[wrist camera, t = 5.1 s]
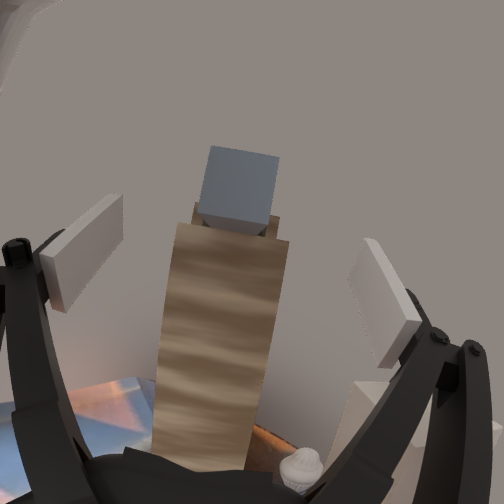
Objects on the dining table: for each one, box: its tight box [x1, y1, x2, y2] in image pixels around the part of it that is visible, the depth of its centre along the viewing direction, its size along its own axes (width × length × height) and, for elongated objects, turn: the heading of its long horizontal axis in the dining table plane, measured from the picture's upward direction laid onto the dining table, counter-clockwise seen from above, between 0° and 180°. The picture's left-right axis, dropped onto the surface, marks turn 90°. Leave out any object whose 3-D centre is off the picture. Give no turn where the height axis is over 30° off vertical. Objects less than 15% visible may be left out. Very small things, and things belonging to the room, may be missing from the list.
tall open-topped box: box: [151, 202, 289, 472], centre depth 35 cm, size 16×10×35 cm, turn 3°
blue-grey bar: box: [197, 146, 279, 235], centre depth 29 cm, size 24×4×4 cm, turn 3°
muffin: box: [280, 447, 324, 492], centre depth 33 cm, size 6×6×7 cm
